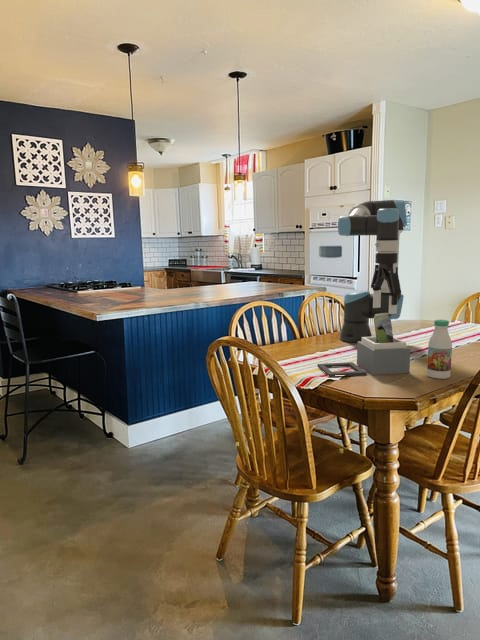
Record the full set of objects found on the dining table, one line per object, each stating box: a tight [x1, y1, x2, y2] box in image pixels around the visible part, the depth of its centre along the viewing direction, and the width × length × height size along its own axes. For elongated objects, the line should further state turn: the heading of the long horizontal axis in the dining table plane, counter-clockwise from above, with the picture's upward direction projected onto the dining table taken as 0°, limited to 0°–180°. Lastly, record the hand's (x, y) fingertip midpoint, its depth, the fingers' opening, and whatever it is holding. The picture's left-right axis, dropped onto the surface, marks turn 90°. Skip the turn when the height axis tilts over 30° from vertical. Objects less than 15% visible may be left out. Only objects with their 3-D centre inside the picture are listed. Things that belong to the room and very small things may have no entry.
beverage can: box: [373, 313, 394, 343], centre depth 175 cm, size 6×7×12 cm
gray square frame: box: [316, 361, 368, 377], centre depth 175 cm, size 14×14×1 cm
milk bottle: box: [426, 319, 453, 380], centre depth 164 cm, size 8×8×20 cm
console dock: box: [356, 336, 412, 376], centre depth 176 cm, size 15×14×11 cm
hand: (384, 310), depth 173 cm, fingers open, 13 cm apart
